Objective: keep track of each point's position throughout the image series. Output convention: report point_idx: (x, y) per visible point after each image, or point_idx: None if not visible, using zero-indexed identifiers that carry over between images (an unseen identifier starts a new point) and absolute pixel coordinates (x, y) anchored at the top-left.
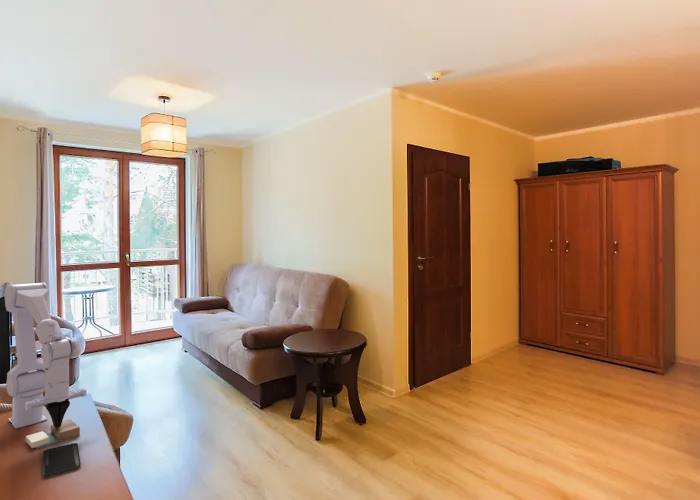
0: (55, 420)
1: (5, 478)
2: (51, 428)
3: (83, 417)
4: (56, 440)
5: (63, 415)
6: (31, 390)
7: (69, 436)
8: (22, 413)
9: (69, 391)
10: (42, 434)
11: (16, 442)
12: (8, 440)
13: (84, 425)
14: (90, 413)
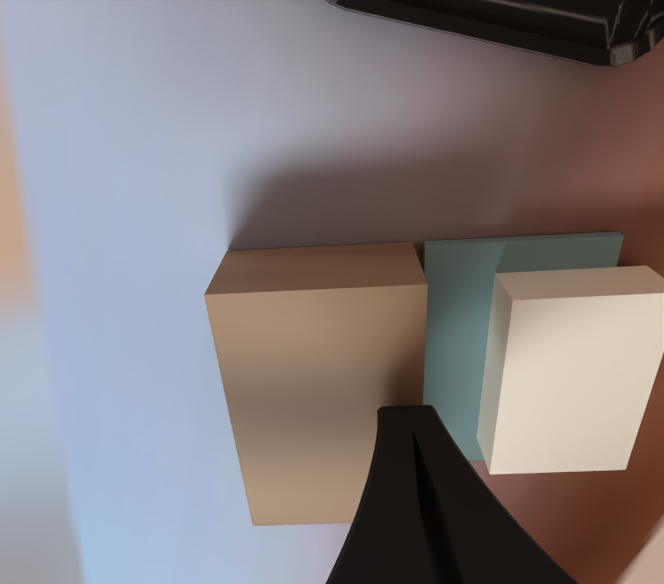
0: (467, 475)
1: None
2: None
3: (153, 551)
4: (432, 274)
5: (367, 513)
6: None
7: (320, 256)
8: None
9: None
10: (525, 410)
11: (633, 466)
12: (644, 524)
13: (161, 425)
14: (102, 578)
